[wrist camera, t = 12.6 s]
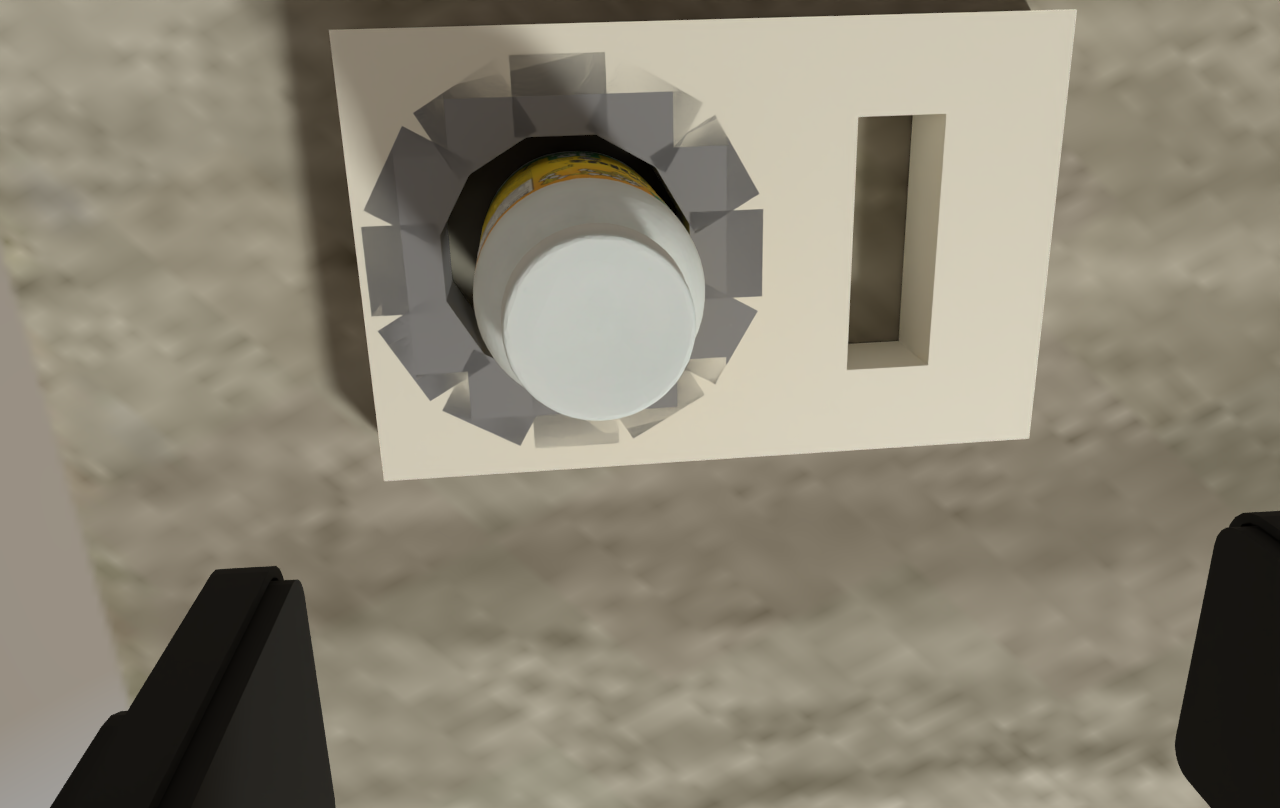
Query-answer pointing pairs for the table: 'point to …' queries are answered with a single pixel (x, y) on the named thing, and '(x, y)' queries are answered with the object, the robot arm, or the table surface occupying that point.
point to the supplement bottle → (587, 286)
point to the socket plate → (720, 225)
